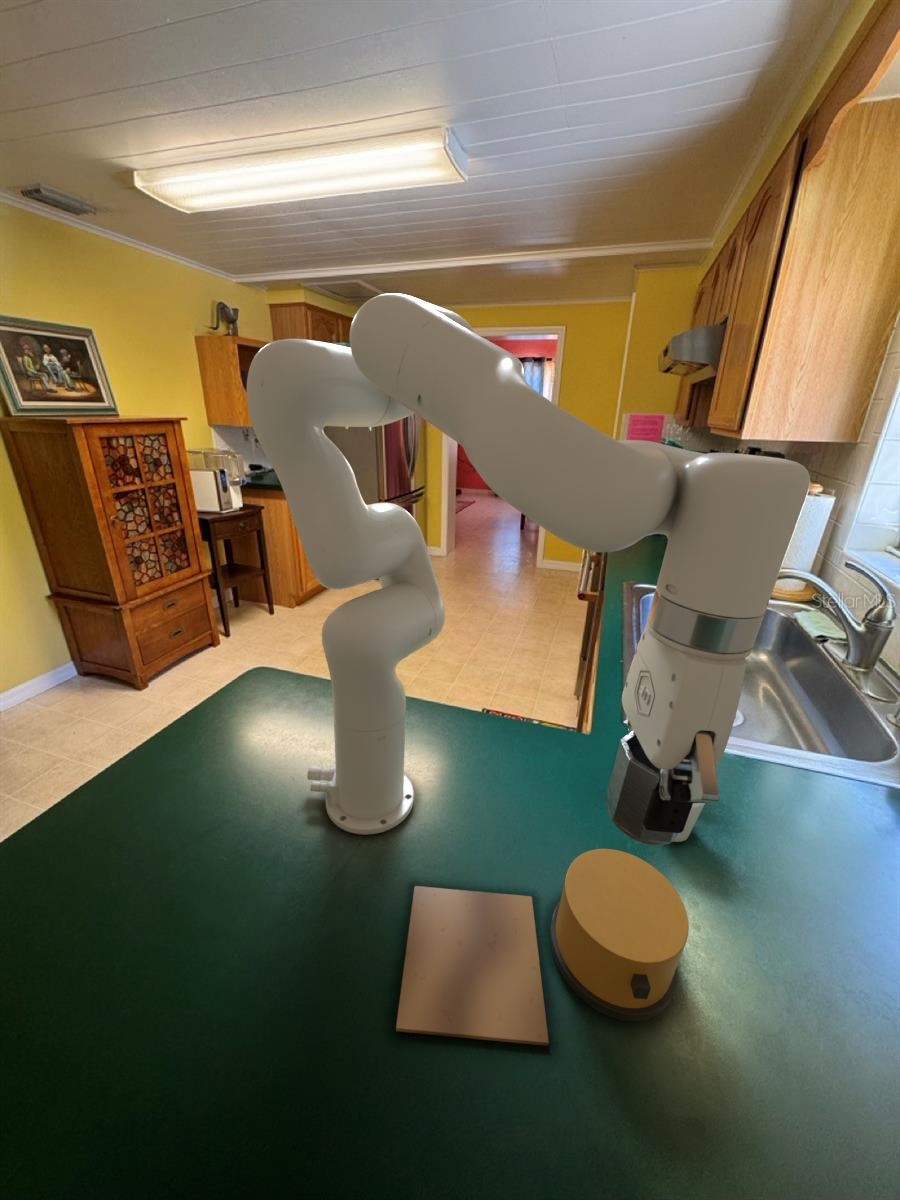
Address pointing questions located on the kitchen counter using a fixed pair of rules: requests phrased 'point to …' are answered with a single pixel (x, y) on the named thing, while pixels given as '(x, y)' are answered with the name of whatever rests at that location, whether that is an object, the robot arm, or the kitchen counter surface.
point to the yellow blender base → (619, 934)
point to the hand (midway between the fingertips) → (648, 795)
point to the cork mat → (472, 968)
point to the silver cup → (636, 791)
